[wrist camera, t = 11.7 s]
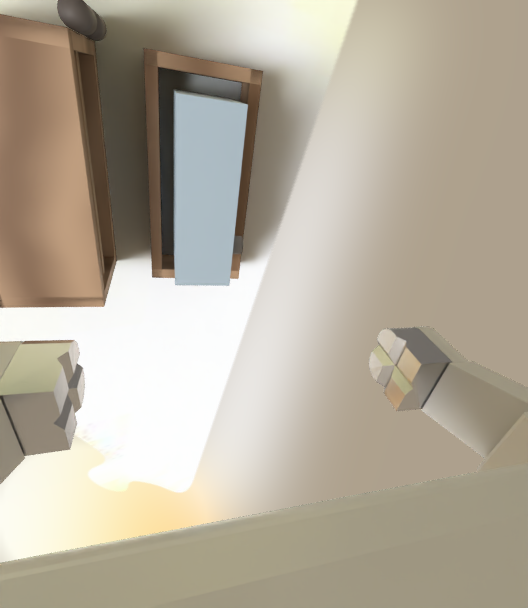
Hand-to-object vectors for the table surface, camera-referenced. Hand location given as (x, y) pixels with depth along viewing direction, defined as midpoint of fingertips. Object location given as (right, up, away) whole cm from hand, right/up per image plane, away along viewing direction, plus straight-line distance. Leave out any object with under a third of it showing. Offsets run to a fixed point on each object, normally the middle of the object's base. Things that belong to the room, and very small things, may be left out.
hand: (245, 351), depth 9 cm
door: (-5, +12, +19) cm, 23 cm away
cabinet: (-10, +13, +17) cm, 23 cm away
